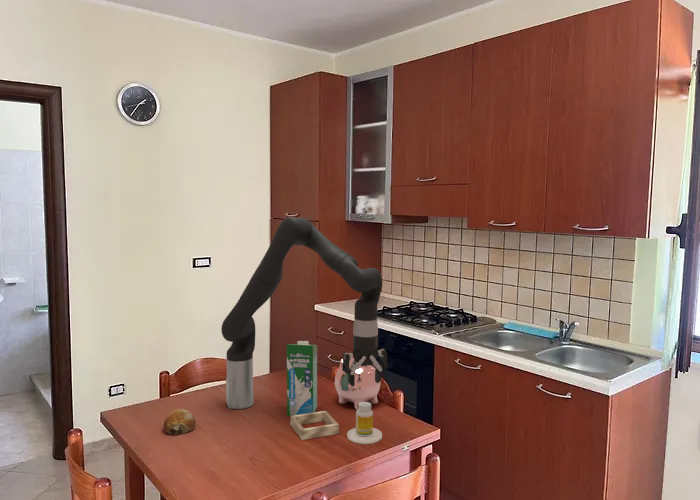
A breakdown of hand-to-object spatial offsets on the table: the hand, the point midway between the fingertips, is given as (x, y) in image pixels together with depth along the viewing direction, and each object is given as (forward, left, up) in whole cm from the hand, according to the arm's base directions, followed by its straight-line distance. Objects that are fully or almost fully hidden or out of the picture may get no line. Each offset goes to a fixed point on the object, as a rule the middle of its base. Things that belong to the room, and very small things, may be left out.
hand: (364, 383), depth 172 cm
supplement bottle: (0, 0, -16) cm, 16 cm away
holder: (-13, +11, -17) cm, 24 cm away
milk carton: (-12, +27, -17) cm, 34 cm away
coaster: (0, 0, -17) cm, 17 cm away
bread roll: (-53, +27, -17) cm, 62 cm away
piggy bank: (+9, +28, -17) cm, 34 cm away
